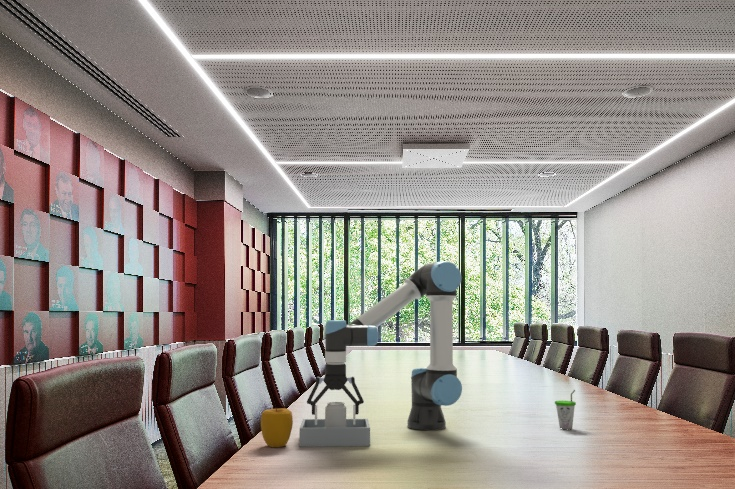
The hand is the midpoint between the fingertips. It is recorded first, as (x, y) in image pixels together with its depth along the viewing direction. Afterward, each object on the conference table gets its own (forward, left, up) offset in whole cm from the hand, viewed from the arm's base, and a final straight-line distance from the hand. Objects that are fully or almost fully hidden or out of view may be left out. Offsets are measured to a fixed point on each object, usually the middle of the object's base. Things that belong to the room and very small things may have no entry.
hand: (335, 424), depth 219 cm
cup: (-90, -19, -6) cm, 92 cm away
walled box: (0, 0, -6) cm, 6 cm away
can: (0, 0, -5) cm, 5 cm away
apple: (+20, +8, -6) cm, 22 cm away
